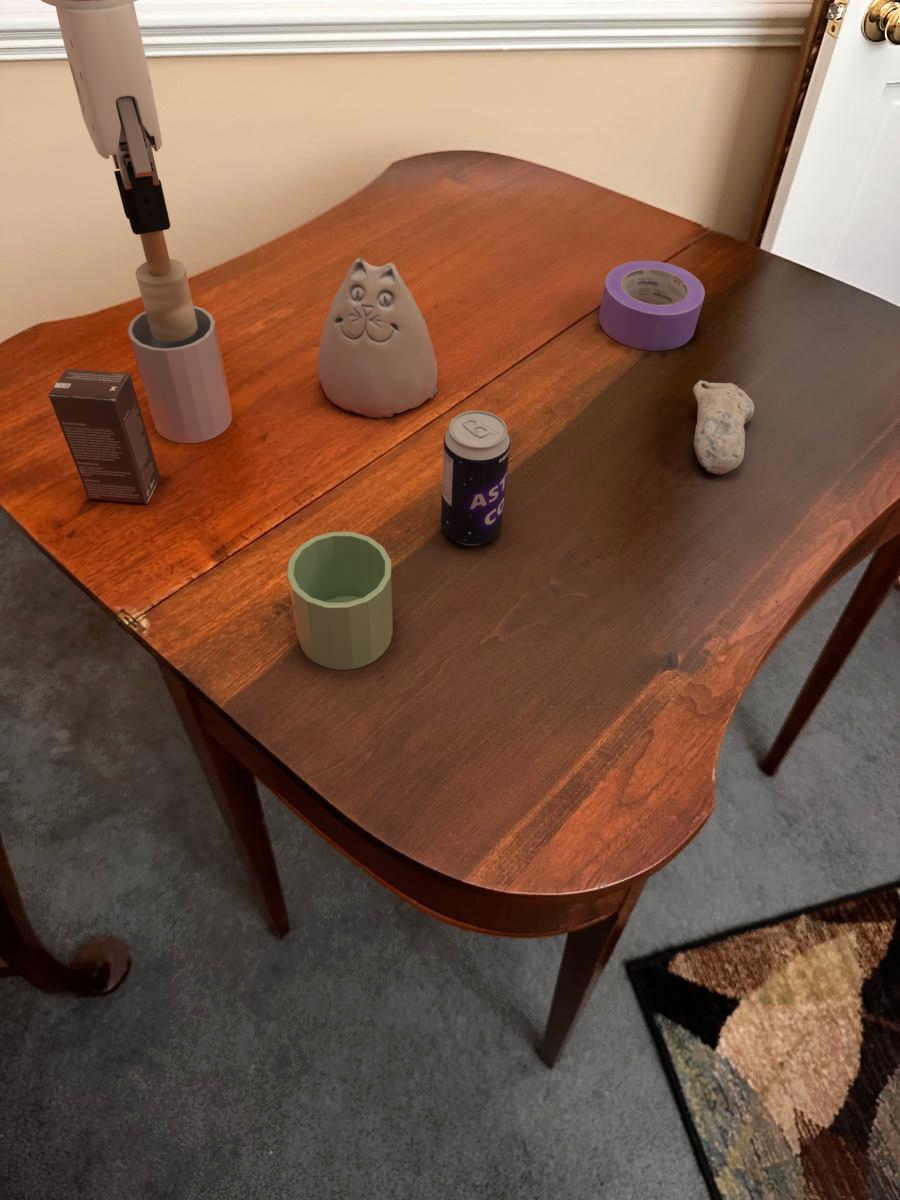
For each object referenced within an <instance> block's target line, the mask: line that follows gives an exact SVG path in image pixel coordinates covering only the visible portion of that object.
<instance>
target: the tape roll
mask: <svg viewBox="0 0 900 1200" xmlns="http://www.w3.org/2000/svg"><path fill="white" fill-rule="evenodd" d="M705 295H706V292H705V288H704V285H703V284H702V282H701V281H700V279H699V278H698V277H696V276H695V275H694V274H692V273H691V272H689V270H686V269H684V268H682V267H679V266H676V265H674V264H671V263H666V262H662V261H655V260H634V261H628V262H625V263H621V264H618V265H617V266H615V267H614V268H612V269H611V270H610V271H609V272H608V274H607V275H606V277H605V281H604V285H603V291H602V296H601V302H600V306H599V313H598V323H599V326H600V327H601V329H602V330H603V332H605V334H607V336H608V337H610V338H611V339H612V340H614V341H616V342H617V343H619V344H622V345H623V346H626V347H629V348H633V349H637V350H641V351H647V352H648V351H649V352H663V351H670V350H674V349H678V348H680V347H682V346H684V345H686V344H687V343H688V342H689V341H691V339H692V338H693V337H694V335H695V332H696V327H697V324H698V321H699V317H700V313H701V309H702V306H703V303H704V299H705Z"/></svg>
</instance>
